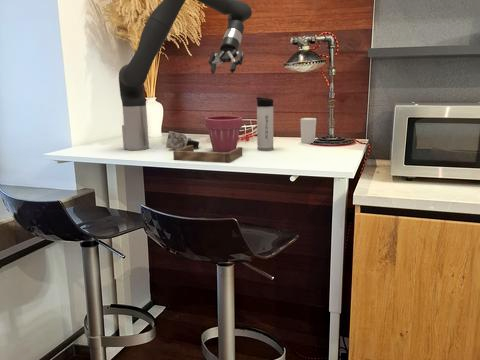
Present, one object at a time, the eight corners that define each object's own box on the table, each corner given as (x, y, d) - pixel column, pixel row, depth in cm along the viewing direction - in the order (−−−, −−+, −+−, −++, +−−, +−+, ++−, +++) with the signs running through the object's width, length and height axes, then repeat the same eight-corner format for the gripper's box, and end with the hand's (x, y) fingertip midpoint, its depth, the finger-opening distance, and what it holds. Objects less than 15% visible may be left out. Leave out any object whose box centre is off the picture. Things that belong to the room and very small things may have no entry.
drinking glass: (314, 144, 187) (315, 119, 184) (298, 143, 189) (298, 119, 186) (317, 141, 193) (317, 118, 190) (301, 141, 195) (302, 117, 192)
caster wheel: (199, 153, 186) (192, 154, 176) (173, 147, 187) (165, 147, 178) (202, 137, 185) (195, 137, 175) (177, 131, 187) (168, 130, 177)
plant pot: (237, 154, 168) (236, 119, 165) (201, 152, 172) (200, 119, 169) (246, 147, 182) (246, 115, 179) (213, 146, 185) (212, 115, 182)
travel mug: (261, 147, 181) (260, 96, 176) (276, 148, 178) (276, 97, 173) (253, 150, 176) (253, 97, 171) (268, 151, 172) (268, 98, 168)
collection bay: (173, 159, 160) (173, 151, 159) (190, 152, 172) (189, 145, 171) (229, 162, 153) (229, 153, 152) (242, 155, 165) (242, 147, 164)
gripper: (212, 37, 191) (202, 66, 184) (244, 34, 185) (234, 64, 178) (219, 49, 197) (209, 79, 190) (249, 47, 191) (241, 77, 184)
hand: (222, 72), depth 184 cm, fingers open, 8 cm apart
